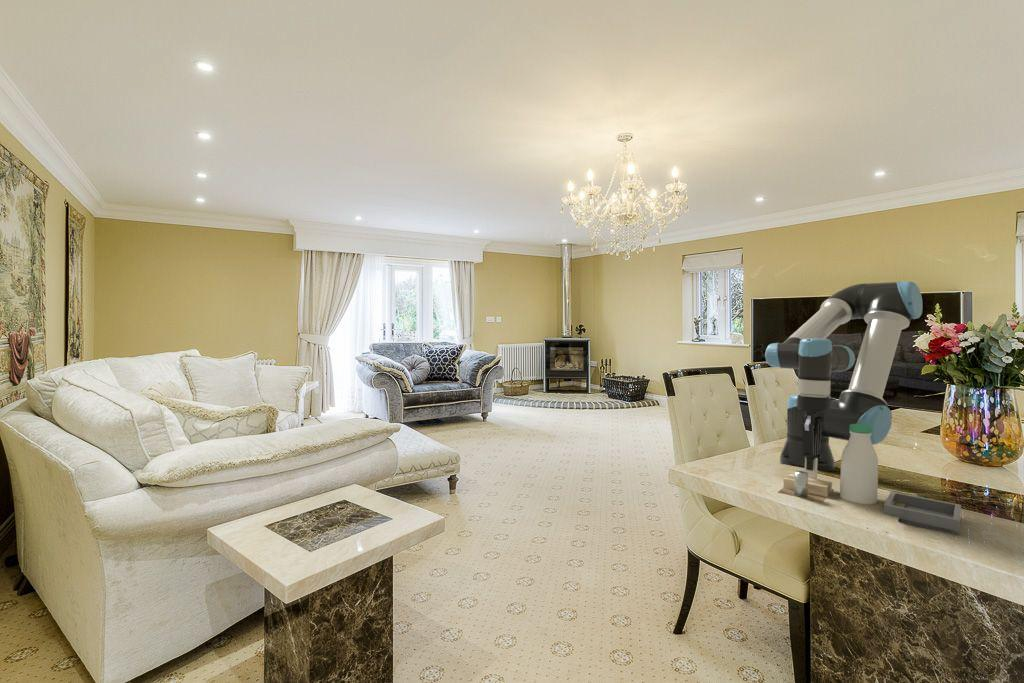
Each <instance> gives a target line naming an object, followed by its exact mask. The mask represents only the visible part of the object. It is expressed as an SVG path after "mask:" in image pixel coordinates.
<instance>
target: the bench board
mask: <svg viewBox="0 0 1024 683" xmlns="http://www.w3.org/2000/svg"><path fill="white" fill-rule="evenodd" d="M834 490H835V489H834V488H832V492H833V491H834ZM778 493H779V494H783V495H788V496H792V497H797V496H795V495H794V490H792V489H787V488H783V487H782V488H781V489H780V490H779V491H777V494H778ZM797 498H798V497H797ZM799 498H800V499H801V498H802V497H799ZM826 498H827V497H824V496H820V495H815V494H810V493H808V497H806V498H804V499H806V500H808V501H809V500H810V501H813V502H814V501H815V502H818V503H819V502H820V503H823V502H824V501H825V500H826ZM802 499H803V498H802Z"/></svg>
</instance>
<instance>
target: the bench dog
mask: <svg viewBox="0 0 1024 683" xmlns="http://www.w3.org/2000/svg"><path fill="white" fill-rule="evenodd" d="M794 475H795V476H794V495H795V496H794V497H796V496H797V498H800V497H802V499H805V498H806V497H808V473H807V472H805V470H804V471H802V470H795V471H794Z"/></svg>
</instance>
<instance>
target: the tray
mask: <svg viewBox="0 0 1024 683" xmlns="http://www.w3.org/2000/svg"><path fill="white" fill-rule="evenodd" d="M896 502H897V503H901V504H904V506H903V507H902V506H898V505H895V503H896ZM882 512H883V513H882V514H885V515H889V516H893V517H898V520H897V522H898V523H903V524H907V525H911V526H912V525H913V526H917V527H920V528H925V529H928V530H933V531H938V532H943V533H947V534H950V535H951V534H952V535H956V536H959V535H960V534H959V533H960V524H961V517H962V516H961V514H962V505H961V504H958V503H953V502H948V501H944V500H943V501H942V500H938V499H934V498H933V499H932V498H926V497H923V496H917V495H911V494H908V493H902V492H901V493H900V492H897V491H890V492H889V495H888V496H887V498H886V500H885V501H884V503H883V511H882Z"/></svg>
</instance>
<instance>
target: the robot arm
mask: <svg viewBox="0 0 1024 683" xmlns="http://www.w3.org/2000/svg"><path fill="white" fill-rule="evenodd" d="M923 307H924V306H923V297H922V293H921V291H920V288H919V286H918V284H916V283H915V282H914V281H906V280H905V281H900V280H897V281H892V282H891V281H890V282H875V283H874V282H872V283H858V284H853V285H850V286H848V287H845V288H842V289H841V290H838V291H837V292H835V293H833V294H832V295H830V296H829V297H828V298H827V299H825V300H824V301H823V302H822V303H821V305H820V307H819V310H818V311H817V312H816V313H814V314H813V315H812V316H811V317H810V318H809V319H808V320H806V322H804V323H803V324H802V325H801V326H800V327H798V329H797V330H796V331H794V332H793V333H792V334H791V335H790V336H788V338H786V339H785V341H783V342H781V343H780V342H774V343H770V344H768V345H767V347H766V349H765V352H764V357H765V361H766V363H767V365H768V366H770V367H772V368H773V367H774V368H778V369H779V368H780V369H791V370H798V375H797V381H796V382H795V385H796V386H797V392H798V394H792V395H790V396H789V397H788V399H787V407H786V410H787V411H786V441H785V442H784V445H783V447H782V450H781V453H780V455H779V463H780V464H782V465H785V466H791V467H795V468H801V469H804V472H807V473H808V477H809V478H814V479H818V472H822V473H823V472H824V473H828V472H833V471H835V470H836V461H835V458H834V455H833V452H832V450H831V446H830V438H832V439H838V440H843V441H847V442H848V441H849V438H850V433H849V432H850V430H849V426H850V424H863V425H868V426H871V427H872V432H871V434H872V435H871V436H870V439H871V443H872V445H878V444H879V443H882V442H883V441H884V440H885V439H886V437H887V436H888V434H889V433H890V430H891V427H892V420H893V415H892V411H891V410H890V408H889V407H888V403H887V402H886V400H885V399H884V398H883V397H884V393H885V389H886V386H887V382H888V379H889V375H890V372H891V368H892V364H893V361H894V358H895V354H896V350H897V347H898V343H899V340H900V337H901V333H902V330H905V329H907V328H909V327H910V323H911V320H916V319H920V317H921V316H922V315H923ZM856 319H857V320H859V319H860V320H861V319H862V320H863V321H864V322H865V323H866V324H867V326H866V329H865V332H864V336H863V339H862V341H861V342H862V343H861V345H860V349H859V352H858V356H857V360H856V356H855V353H854V351H853V349H851V348H850V347H848V346H845V345H841V344H832V340H830V339H829V338H828V337H829V336H830V335H831V334H832V333H833V332H834V331H835V330H836V329H838V327H839V326H841V325H844V324H847V323H848V322H850V321H851V320H856ZM855 361H856V363H855ZM854 364H855V366H854ZM853 366H854V369H853V372H852V375H851V378H850V382H849V385H848V389H845V390H843V391H841V393H840V394H839V398H838V400H837V399H832V397H831V383H832V382H831V381H832V380H831V373H841V372H844V371H848V370H850V369H851V368H853Z"/></svg>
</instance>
